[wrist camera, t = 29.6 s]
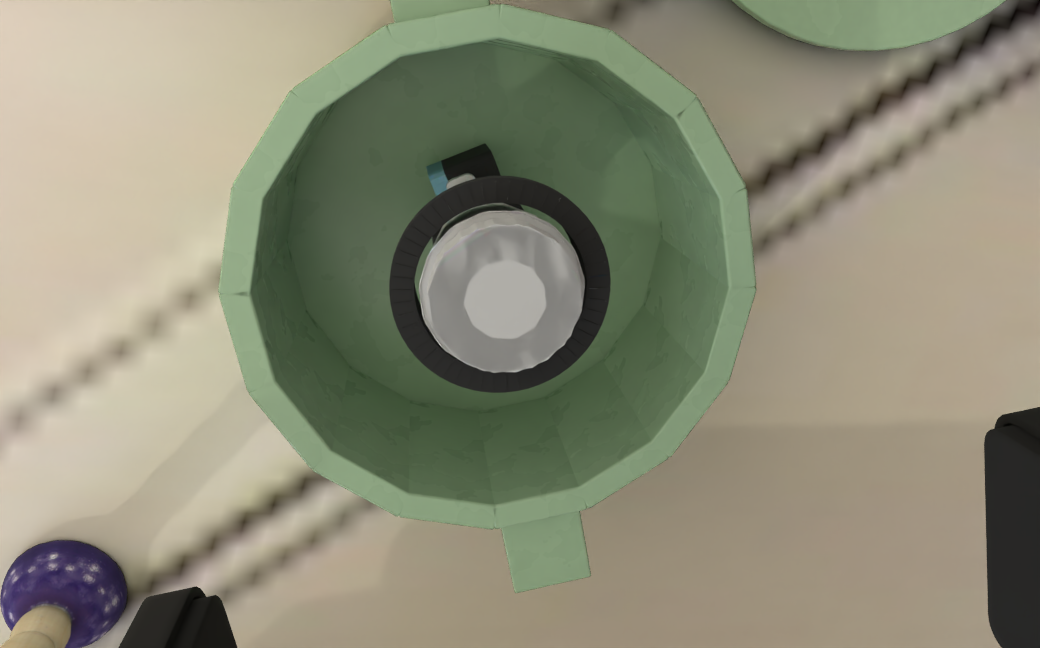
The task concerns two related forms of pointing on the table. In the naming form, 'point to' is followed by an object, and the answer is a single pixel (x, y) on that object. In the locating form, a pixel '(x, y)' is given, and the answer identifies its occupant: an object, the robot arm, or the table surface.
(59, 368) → the table surface
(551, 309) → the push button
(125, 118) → the table surface
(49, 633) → the toy lamp
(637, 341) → the green cooking pot
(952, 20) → the green pot lid
